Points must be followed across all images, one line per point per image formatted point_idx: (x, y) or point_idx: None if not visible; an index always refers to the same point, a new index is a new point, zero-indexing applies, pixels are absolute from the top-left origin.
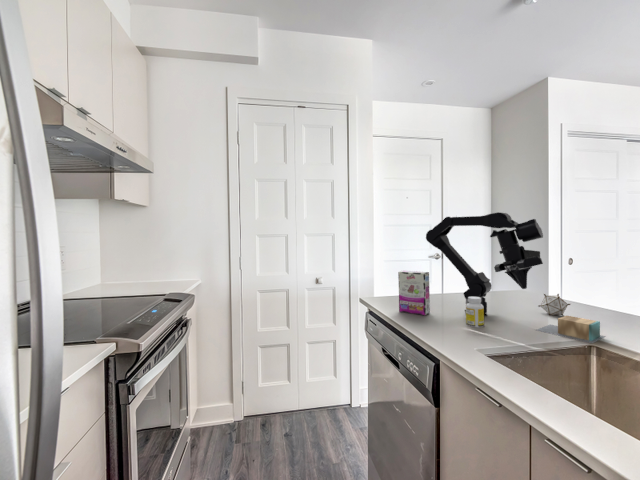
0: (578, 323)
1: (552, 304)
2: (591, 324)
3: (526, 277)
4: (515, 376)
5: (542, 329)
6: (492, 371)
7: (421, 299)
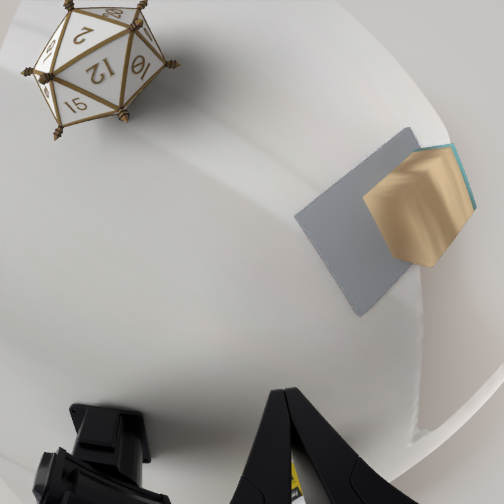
0: (460, 227)
1: (133, 83)
2: (473, 202)
3: (368, 470)
4: (472, 397)
5: (358, 289)
6: (459, 418)
7: None
